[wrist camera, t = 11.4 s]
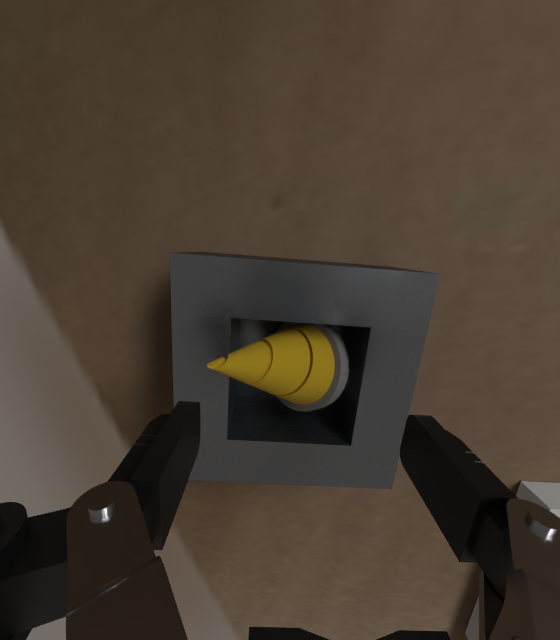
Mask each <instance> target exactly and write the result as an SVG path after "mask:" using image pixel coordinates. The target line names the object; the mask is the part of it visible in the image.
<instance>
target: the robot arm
mask: <svg viewBox="0 0 560 640" xmlns="http://www.w3.org/2000/svg"><path fill="white" fill-rule="evenodd" d="M199 446H200V402H190V401H178V403H177V404H176V406H175V407H174V409H173V410H172V412H171V414H161V415H160V416H158V417H157V418H156V419H154V420H153V421H151V422H150V423H149V424H148V426H147V427H146V428H145V430H144V431H143V433H142V436H140V437H139V438H138V440H137V441H136V443H135V445H133V447H132V448H131V450H130V451H129V452H128V454H127V455H126V457H125V458H124V459H123V461H122V462H121V464H120V465H119V466H118V468H117V469H116V471H115V472H114V473H113V475H112V476H111V478H110V479H109V480H108V482H106V483H103V484H100V485H98V486H96V487H93V488H92V489H90V490H88V491H87V492H86V493H84V494H83V495H82V496H81V497H79V498H78V499H77V500H76V502H75V503H74V504H73V505H72V506H71V507H70V508H67V509H63V510H59V511H55V512H51V513H46V514H42V515H37V516H33V517H29V518H28V517H27V512H26V509H25V507H24V506H23V505H21V504H19V503H16V502H6V503H0V640H26V638H27V637H28V635H29V633H30V632H31V630H32V628H35V627H37V626H40V625H43V624H46V623H49V622H52V621H54V620H57V619H60V618H63V617H66V640H187V636H186V633H185V630H184V626H183V623H182V620H181V617H180V614H179V611H178V608H177V605H176V602H175V598H174V595H173V592H172V589H171V586H170V583H169V580H168V577H167V573H166V571H165V567H164V564H163V562H162V560H161V558H160V557H159V556H158V557H156V556H155V553H154V550H162V549H163V546H164V544H165V541H166V538H167V536H168V533H169V530H170V528H171V525H172V522H173V519H174V517H175V514H176V511H177V509H178V506H179V503H180V501H181V498H182V495H183V492H184V490H185V487H186V484H187V482H188V479H189V476H190V474H191V471H192V468H193V465H194V463H195V460H196V457H197V454H198V451H199ZM400 458H401V462H402V465H403V467H404V469H405V470H406V472H407V474H408V475H409V477H410V479H411V480H412V482H413V484H414V486H415V487H416V489H417V491H418V492H419V494H420V496H421V497H422V499H423V501H424V502H425V504H426V506H427V508H428V509H429V511H430V513H431V514H432V516H433V518H434V519H435V521H436V523H437V525H438V526H439V528H440V530H441V531H442V533H443V535H444V536H445V538H446V540H447V541H448V543H449V545H450V547H451V548H452V550H453V552H454V553H455V555H456V557H457V558H458V560H459V562H474V563H478V564H479V566H480V567H481V569H482V571H481V573H480V576H479V640H560V518H559V517H558V516H556V515H555V514H554V513H552V512H551V511H549V510H547V509H546V508H544V507H542V506H540V505H538V504H536V503H533V502H531V501H527V500H524V499H518V498H517V497H516V496H515V495H514V494H513V493H512V492H511V491H510V490H509V489H508V488H507V487H506V486H505V485H504V484H503V483H502V482H501V481H500V480H499V479H498V478H497V477H496V476H495V474H494V473H493V472H492V471H491V470H490V469H489V468H488V467H487V466H486V465H485V464H483V463H482V462H481V460H480V459H479V458H478V457H477V456H476V455H475V454H473V453H472V451H471V450H470V449H469V448H468V447H467V446H466V445H465V444H464V443H463V442H462V441H461V440H460V439H459V438H457V437H456V436H454V435H453V434H451V433H450V432H448V431H447V430H445V429H444V428H443V427H442V426H441V425H440V424H439V423H438V422H437V421H436V420H435V419H434V418H433V417H432V416H425V415H409V416H408V418H407V420H406V425H405V429H404V433H403V438H402V442H401V446H400ZM249 640H329V639H326V638H324V637H321V636H318V635H316V634H313V633H311V632H308V631H305V630H303V629H300V628H276V627H249ZM377 640H450V637H449V635H448V633H447V632H446V631H404V630H399V631H397V632H394V633H392V634H389V635H387V636H384V637H382V638H379V639H377Z"/></svg>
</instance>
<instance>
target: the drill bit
mask: <svg viewBox="0 0 560 640" xmlns="http://www.w3.org/2000/svg"><path fill="white" fill-rule="evenodd" d="M207 367H208V368H210V369H212V370H215V371H217V372H219V373H222V374H224V375H227V376H229V377H232V378H234V379H236V380H239V381H241V382H244V383H246V384H248V385H251V386H253V387H256V388H258V389H261V390H263V391H265V392H268V393H270V394H273V395H275V396H276V397H277V398H278V399H279V400H280V401H281V402H282V403H283V404H284V405H286V406H287V407H289V408H291V409H293V410H297V411H301V412H304V411H312V410H316V409H320V408H323V407H326V406H328V405H330V404H331V403H333V402H334V401H335V400H336V399H337V398H338V397H339V396H340V394H341V393H342V391H343V390H344V388H345V385H346V383H347V380H348V374H349V357H348V351H347V349H346V346H345V343H344V341H343V340H342V338H341V336H340V335H339V334H338V332H337V331H336V330H335V329H334V328H333V327H331V326H330V325H328V324H314V323H299V322H286V323H284V324H283V325H282V326H281V327H279V328H278V330H277V331H276V332H275V333H274V334H272V335H269V336H267V337H265V338H263V339H261V340H259V341H256V342H254V343H252V344H250V345H247V346H245V347H243V348H241V349H238V350H236V351H234V352H232V353H230V354H228V356H227V358H223V357H221V358H218V359H216V360H214V361H212V362H210V363H208V364H207Z"/></svg>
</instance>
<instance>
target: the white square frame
mask: <svg viewBox="0 0 560 640" xmlns="http://www.w3.org/2000/svg"><path fill="white" fill-rule="evenodd" d="M516 497H517V498H518V499H524V500H527V501H531V502H533V503H536V504H538V505H540V506H542V507H544V508H546V509H547V510H549V511H551V512H552V513H554V514H555V515H556V516H558V517H559V518H560V483H550V482H528V481H521V482H520V485H519V488H518V491H517V493H516ZM465 635H466V637H467V639H468V640H479V596H478V599H477V601H476V604H475V607H474V609H473V612H472V615H471V618H470V620H469V623H468V626H467V628H466V631H465Z"/></svg>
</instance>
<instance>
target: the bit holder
mask: <svg viewBox="0 0 560 640" xmlns="http://www.w3.org/2000/svg"><path fill="white" fill-rule="evenodd" d="M439 276H440V274H437V273H430V272H423V271H416V270H409V269H402V268H395V267H387V266H374V265H362V264H349V263H336V262H323V261H311V260H298V259H285V258H273V257H260V256H247V255H235V254H222V253H209V252H179V253H170V278H171V318H172V359H173V399H174V407H175V406H176V404H177V403H178V401H190V402H200V446H199V451H198V454H197V457H196V460H195V463H194V465H193V468H192V471H191V474H190V476H189V479H188V480H194V481H217V482H240V483H263V484H286V485H309V486H332V487H356V488H379V489H392V486H393V481H394V477H395V472H396V468H397V463H398V459H399V454H400V446H401V442H402V438H403V433H404V429H405V425H406V420H407V418H408V414H409V410H410V405H411V401H412V397H413V392H414V388H415V383H416V379H417V374H418V370H419V365H420V361H421V356H422V352H423V347H424V343H425V339H426V334H427V330H428V325H429V321H430V316H431V312H432V307H433V303H434V298H435V294H436V290H437V285H438V281H439ZM286 322H299V323H314V324H328V325H330V326H331V327H333V328H334V329H335V330H336V331H337V332H338V334H339V335H340V336H341V338H342V340H343V341H344V343H345V346H346V349H347V351H348V357H349V374H348V380H347V383H346V385H345V388H344V390H343V391H342V393H341V394H340V396H339V397H338V398H337V399H336V400H335V401H334V402H333V403H331V404H330V405H328V406H326V407H323V408H320V409H316V410H312V411H304V412H301V411H297V410H293V409H291V408H289V407H287V406H286V405H284V404H283V403H282V402H281V401H280V400H279V399H278V398H277V397H276V396H275V395H273V394H270V393H268V392H265V391H263V390H261V389H258V388H256V387H253V386H251V385H248V384H246V383H244V382H241V381H239V380H236V379H234V378H232V377H229V376H227V375H224V374H222V373H219V372H217V371H215V370H212V369H210V368H208V367H207V364H208V363H210V362H212V361H214V360H216V359H218V358H221V357H223V358H227V356H228V354H230V353H232V352H234V351H236V350H238V349H241V348H243V347H245V346H247V345H250V344H252V343H254V342H256V341H259V340H261V339H263V338H265V337H267V336H269V335H272V334H274V333H275V332H276V331H277V330H278V328H279V327H281V326H282V325H283V324H284V323H286Z"/></svg>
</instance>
